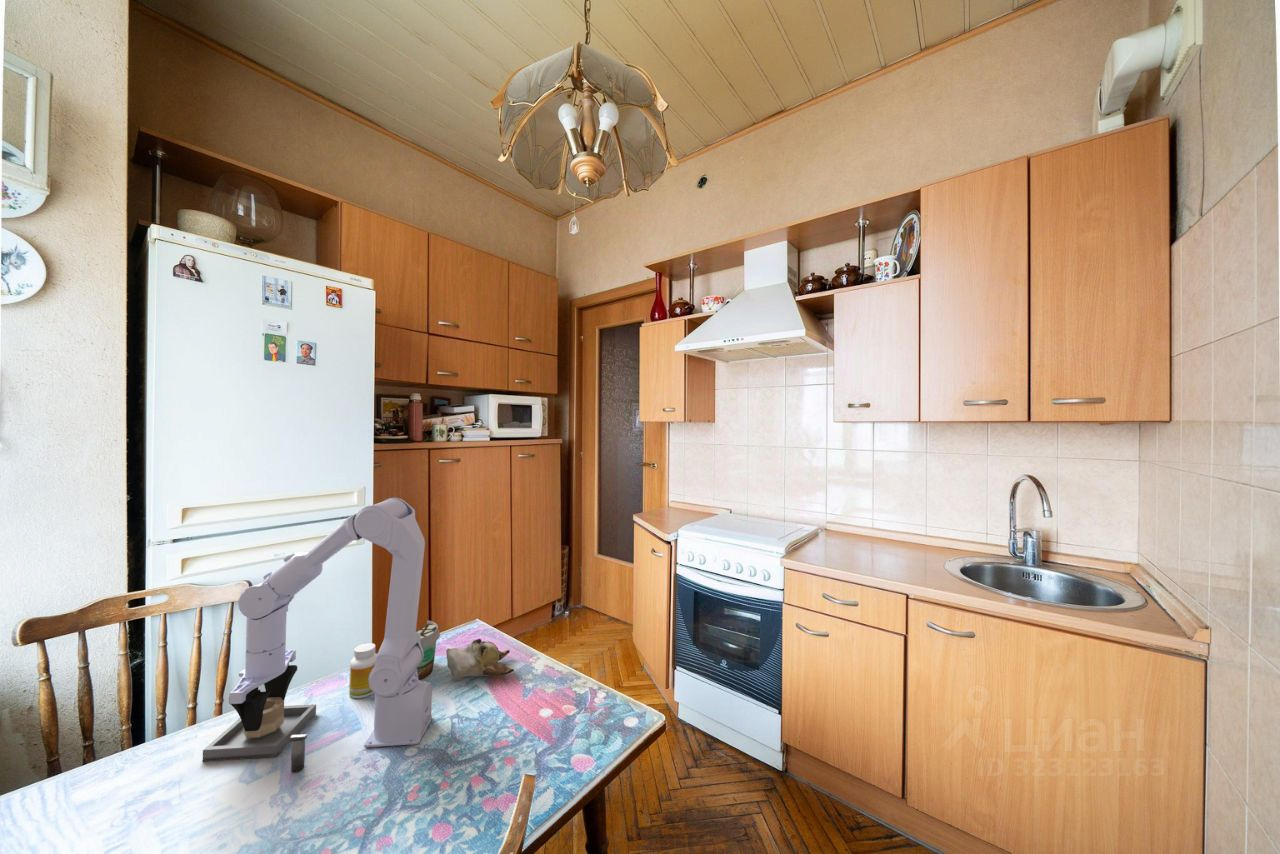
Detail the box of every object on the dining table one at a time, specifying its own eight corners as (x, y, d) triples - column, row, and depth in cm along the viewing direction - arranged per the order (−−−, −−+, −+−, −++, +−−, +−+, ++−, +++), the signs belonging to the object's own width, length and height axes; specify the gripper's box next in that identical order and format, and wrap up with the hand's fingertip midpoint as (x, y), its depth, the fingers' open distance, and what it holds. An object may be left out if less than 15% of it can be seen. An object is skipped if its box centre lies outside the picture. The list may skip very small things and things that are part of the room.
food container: (415, 691, 98) (416, 646, 98) (390, 687, 99) (392, 642, 99) (449, 662, 110) (451, 622, 110) (427, 659, 111) (429, 619, 111)
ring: (289, 717, 86) (289, 696, 86) (269, 736, 81) (270, 714, 81) (258, 718, 85) (258, 697, 85) (236, 738, 80) (237, 716, 80)
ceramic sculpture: (447, 631, 108) (511, 626, 113) (444, 667, 107) (508, 660, 113) (446, 653, 98) (516, 646, 103) (442, 693, 98) (513, 684, 103)
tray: (315, 714, 89) (316, 704, 89) (276, 757, 78) (277, 745, 78) (252, 717, 88) (252, 707, 88) (202, 761, 76) (202, 749, 76)
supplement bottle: (380, 693, 97) (381, 648, 97) (351, 702, 94) (352, 656, 94) (375, 681, 101) (376, 639, 101) (347, 690, 98) (348, 646, 98)
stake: (307, 764, 76) (308, 731, 76) (301, 772, 75) (302, 739, 75) (293, 765, 76) (294, 732, 76) (287, 773, 74) (288, 739, 74)
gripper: (269, 628, 90) (267, 696, 90) (210, 667, 75) (207, 748, 75) (307, 627, 91) (305, 694, 91) (256, 666, 76) (253, 745, 76)
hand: (264, 718), depth 83 cm, fingers closed on ring, 5 cm apart
